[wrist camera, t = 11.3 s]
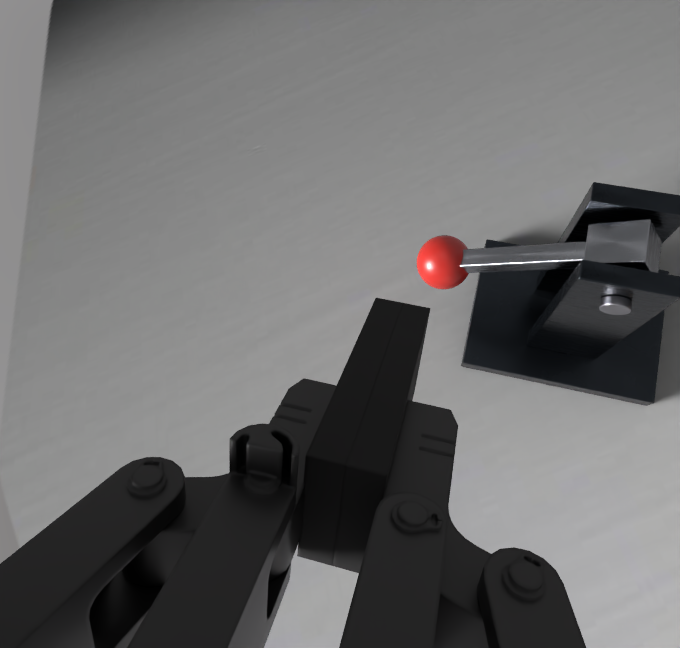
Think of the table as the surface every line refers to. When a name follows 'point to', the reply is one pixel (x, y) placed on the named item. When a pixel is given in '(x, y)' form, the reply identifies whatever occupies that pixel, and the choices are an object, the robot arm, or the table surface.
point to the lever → (542, 253)
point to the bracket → (580, 309)
